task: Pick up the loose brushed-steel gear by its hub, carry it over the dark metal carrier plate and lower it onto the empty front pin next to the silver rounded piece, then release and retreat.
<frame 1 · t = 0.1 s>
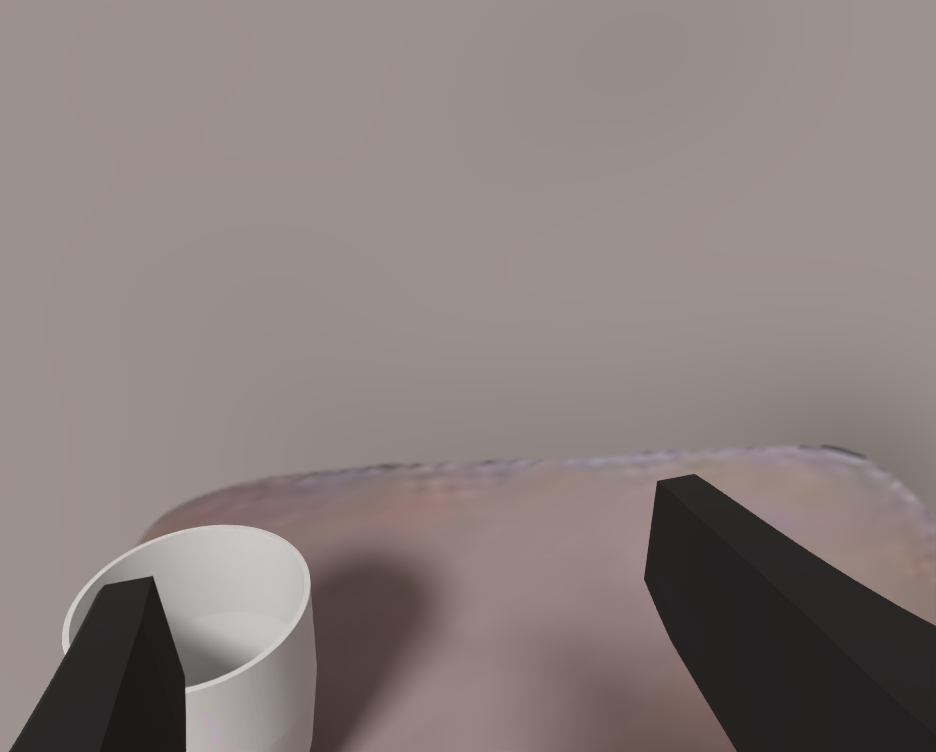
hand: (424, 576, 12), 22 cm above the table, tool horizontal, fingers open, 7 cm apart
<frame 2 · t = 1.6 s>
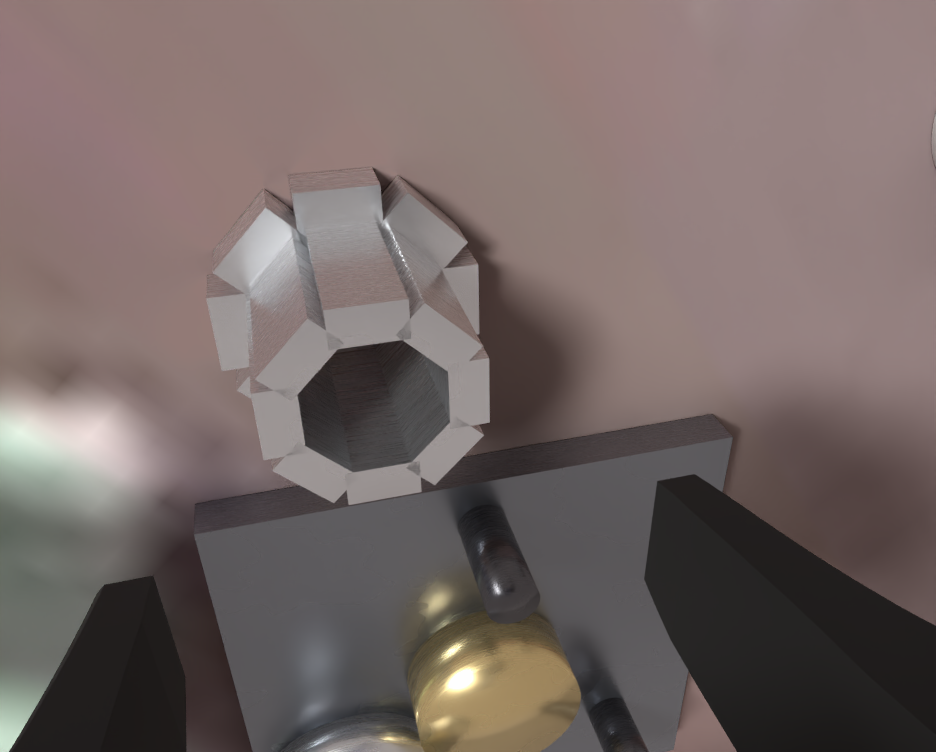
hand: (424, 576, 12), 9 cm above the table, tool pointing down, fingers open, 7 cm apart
gear: (344, 294, 19), on the table
carrier: (474, 635, 27), on the table
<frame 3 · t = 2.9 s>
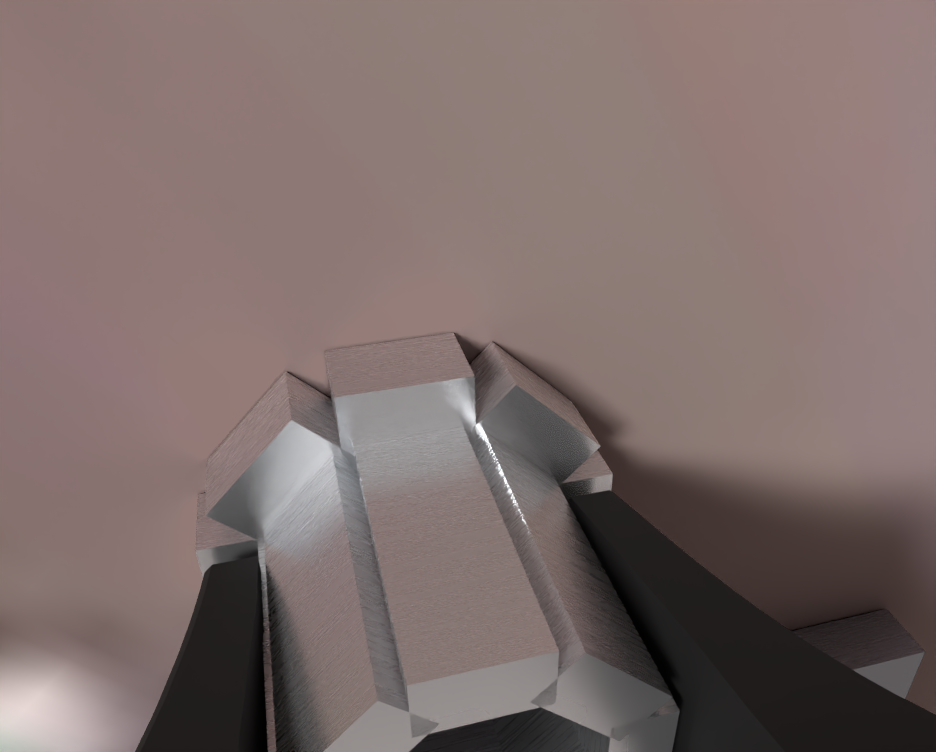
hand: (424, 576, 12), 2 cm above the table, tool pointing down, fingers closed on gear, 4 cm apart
gear: (403, 504, 13), on the table, touching gripper
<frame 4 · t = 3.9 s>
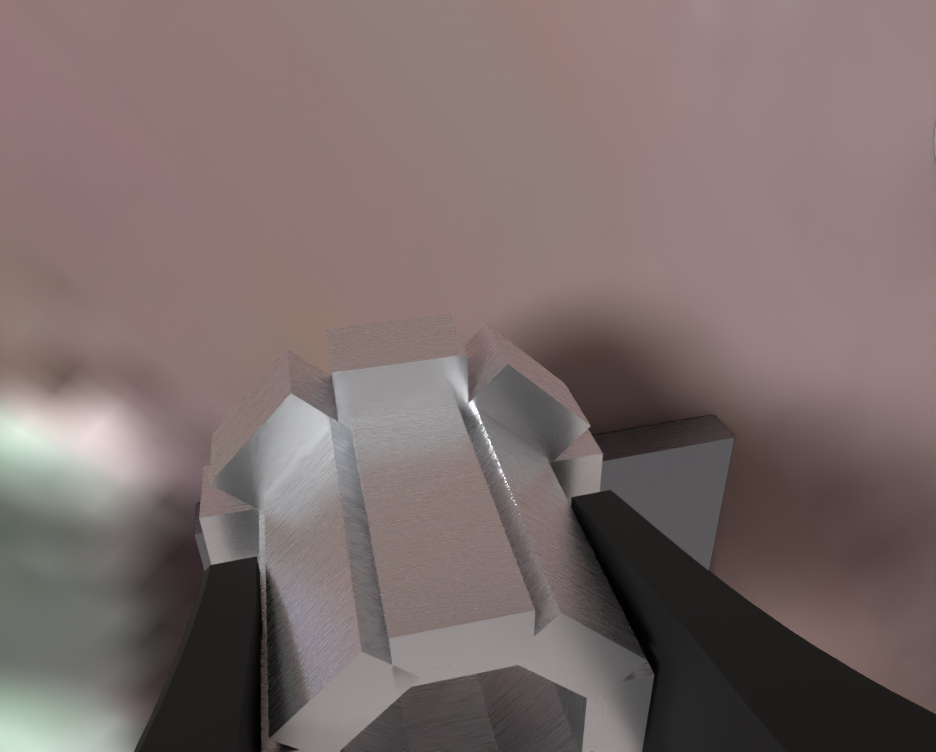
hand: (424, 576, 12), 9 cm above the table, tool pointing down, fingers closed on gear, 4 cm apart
gear: (401, 481, 13), point 7 cm above the table, touching gripper
carrier: (475, 635, 27), on the table
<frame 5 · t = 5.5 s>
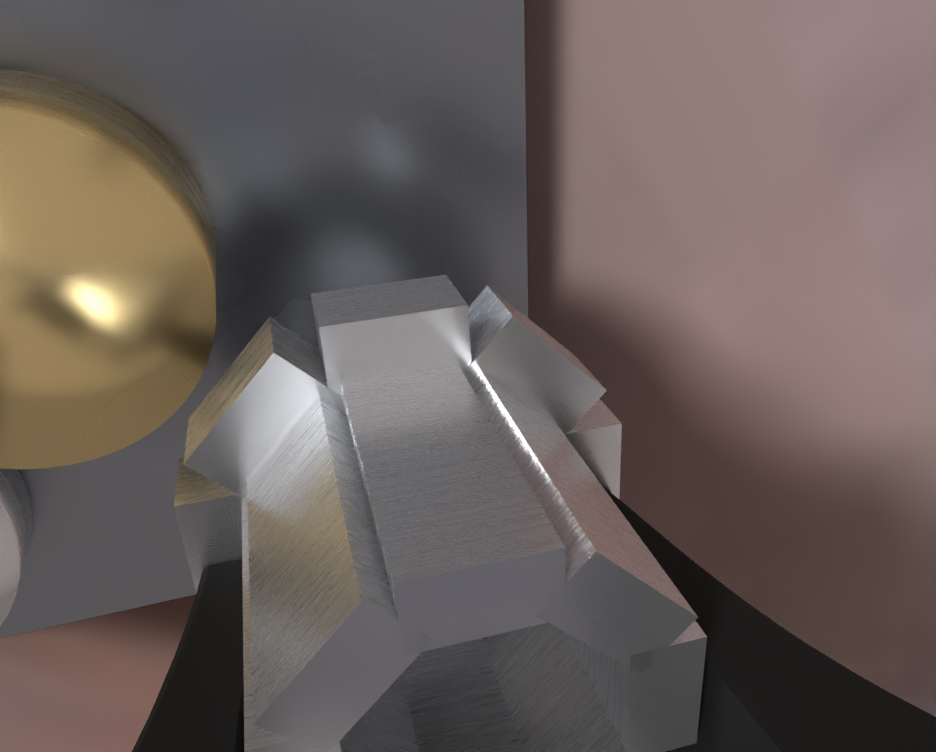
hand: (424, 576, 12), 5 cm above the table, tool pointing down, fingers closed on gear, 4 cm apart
gear: (400, 473, 12), point 4 cm above the table, tilted 6°, touching carrier, gripper
carrier: (50, 218, 13), on the table
when the fingers open (5 cm above the table, at t = 7.1 s): gear drops 3 cm, resting on carrier.
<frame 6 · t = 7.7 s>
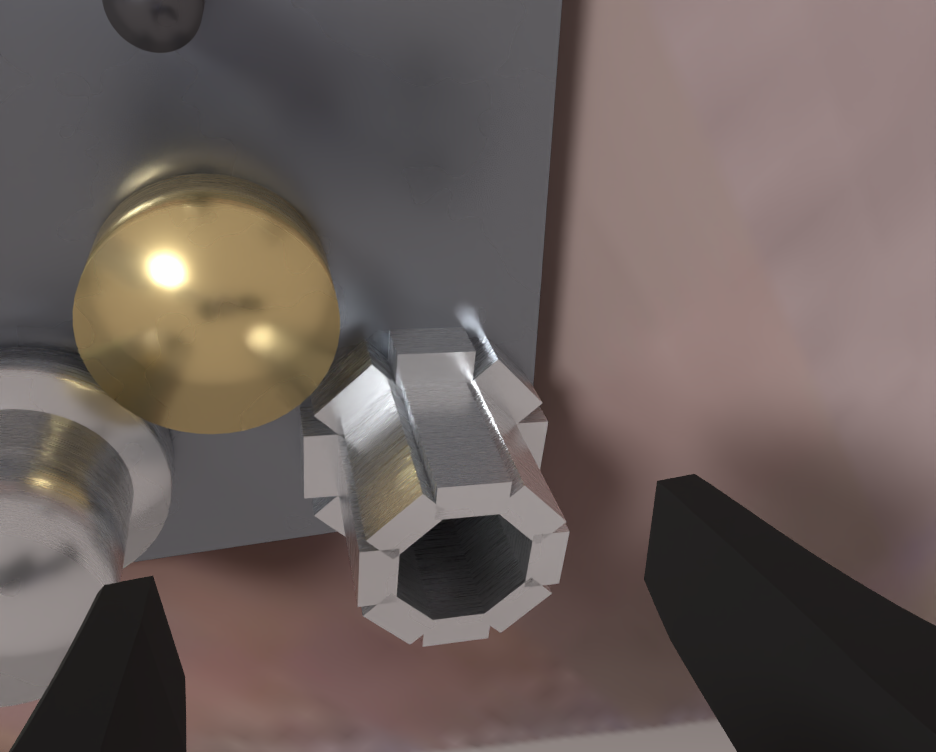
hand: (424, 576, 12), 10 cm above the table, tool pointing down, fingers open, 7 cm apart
silver rounded piece: (36, 460, 19), resting on carrier
gear: (418, 431, 21), point 1 cm above the table, touching carrier
carrier: (214, 264, 19), on the table
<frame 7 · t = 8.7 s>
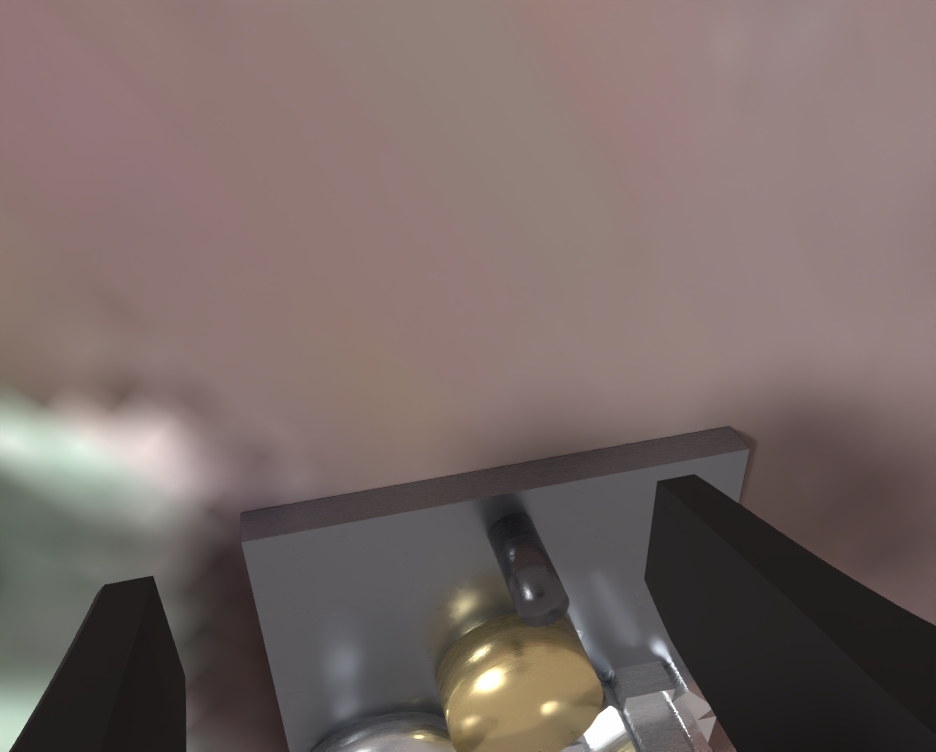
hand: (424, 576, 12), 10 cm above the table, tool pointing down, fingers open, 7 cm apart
gear: (623, 719, 30), point 1 cm above the table, touching carrier
carrier: (499, 637, 28), on the table
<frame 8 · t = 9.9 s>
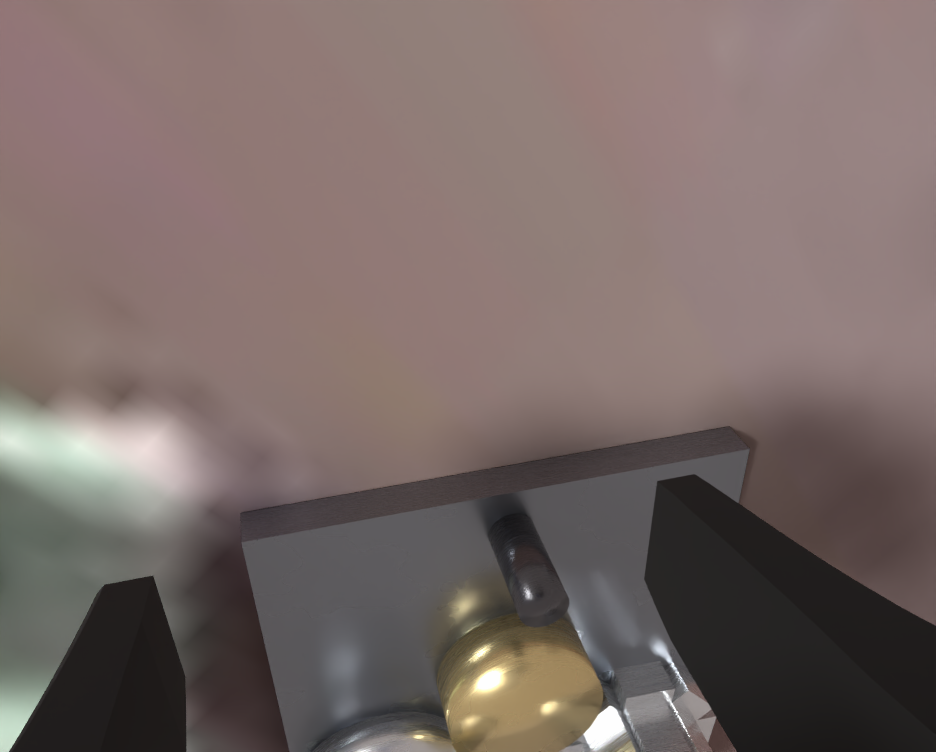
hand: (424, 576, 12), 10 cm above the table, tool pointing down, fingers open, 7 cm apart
gear: (623, 719, 30), point 1 cm above the table, touching carrier
carrier: (499, 637, 28), on the table
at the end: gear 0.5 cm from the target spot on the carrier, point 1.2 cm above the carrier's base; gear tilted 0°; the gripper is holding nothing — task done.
